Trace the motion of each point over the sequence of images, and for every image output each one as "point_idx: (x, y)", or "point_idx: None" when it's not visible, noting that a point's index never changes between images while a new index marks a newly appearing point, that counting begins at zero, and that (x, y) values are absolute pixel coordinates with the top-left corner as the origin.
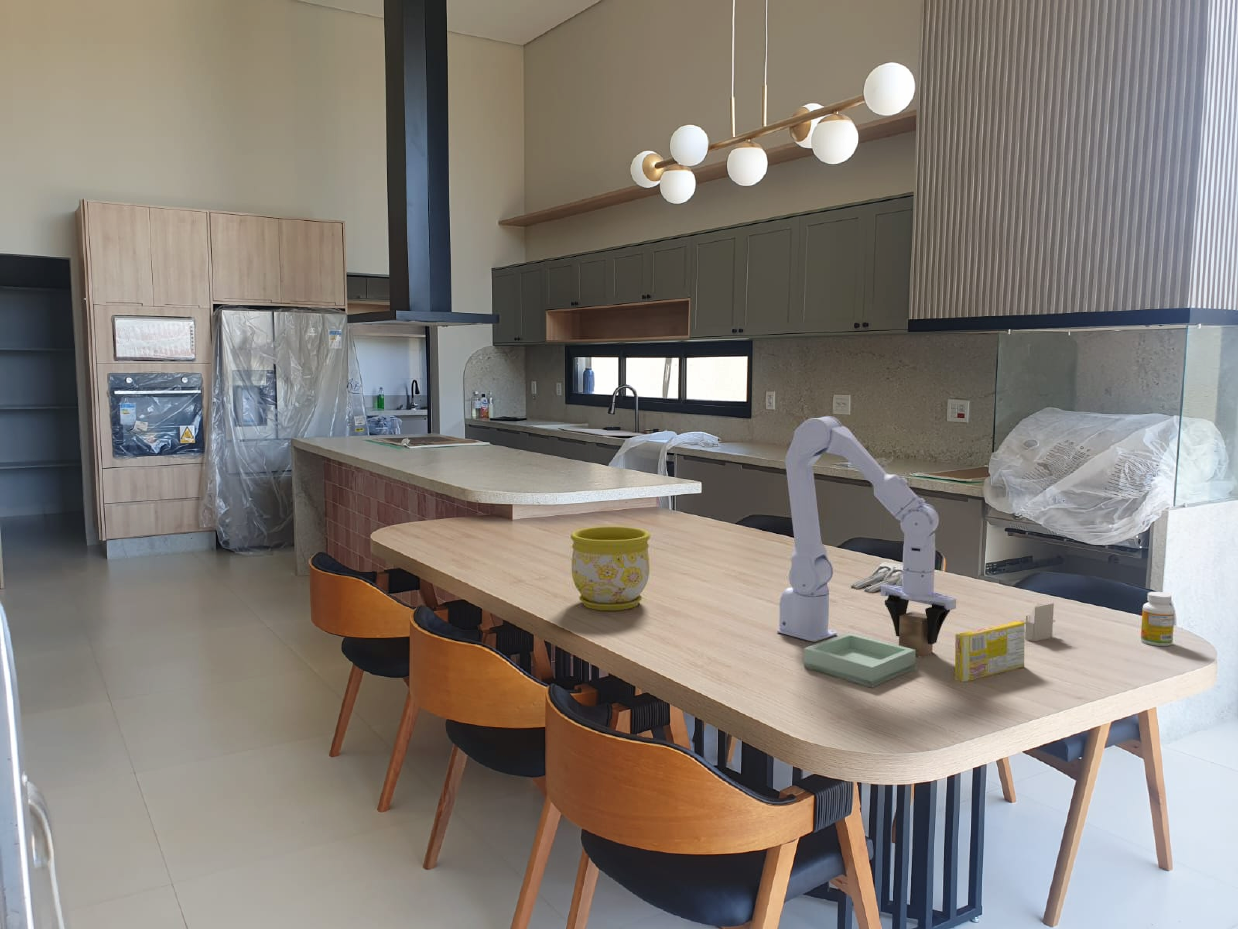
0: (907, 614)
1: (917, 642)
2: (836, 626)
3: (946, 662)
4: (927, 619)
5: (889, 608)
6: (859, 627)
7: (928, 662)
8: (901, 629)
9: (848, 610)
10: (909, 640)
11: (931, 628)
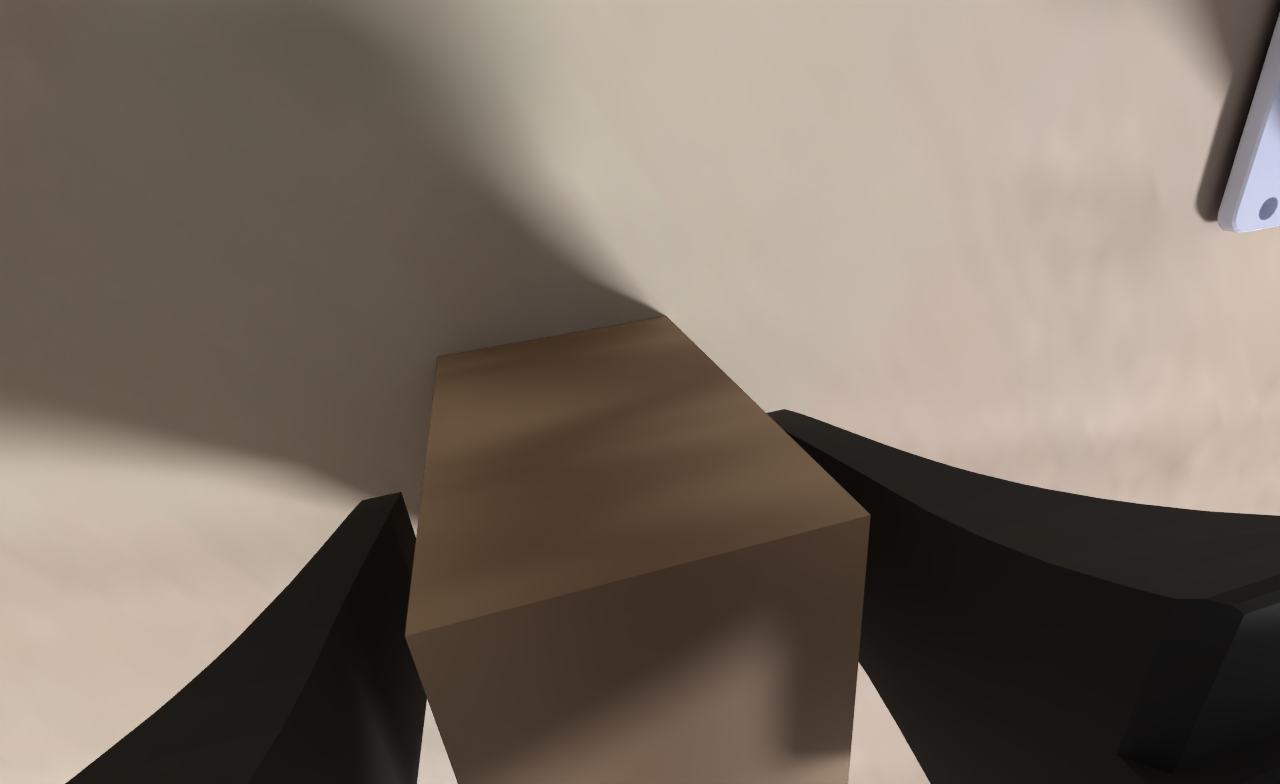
0: (818, 664)
1: (473, 408)
2: (1249, 384)
3: (171, 447)
4: (265, 735)
5: (1144, 524)
6: (1123, 494)
7: (257, 295)
8: (728, 413)
9: None
10: (583, 390)
11: (261, 636)
